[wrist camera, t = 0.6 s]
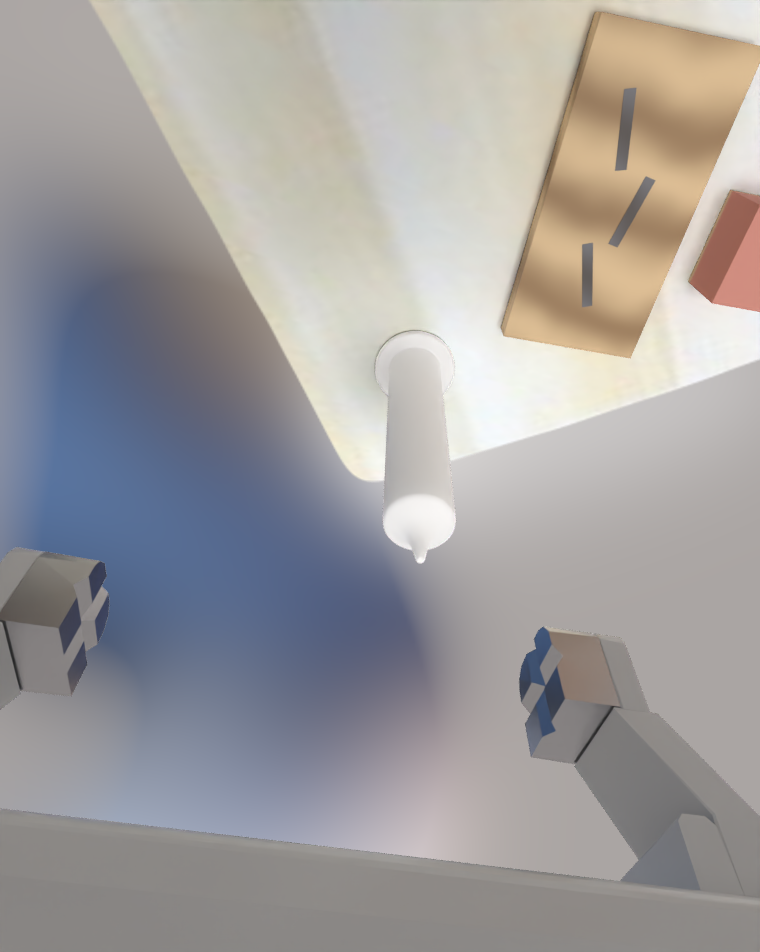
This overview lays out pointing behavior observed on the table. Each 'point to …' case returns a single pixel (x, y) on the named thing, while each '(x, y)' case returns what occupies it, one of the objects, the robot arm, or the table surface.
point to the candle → (416, 441)
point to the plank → (625, 180)
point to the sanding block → (732, 255)
